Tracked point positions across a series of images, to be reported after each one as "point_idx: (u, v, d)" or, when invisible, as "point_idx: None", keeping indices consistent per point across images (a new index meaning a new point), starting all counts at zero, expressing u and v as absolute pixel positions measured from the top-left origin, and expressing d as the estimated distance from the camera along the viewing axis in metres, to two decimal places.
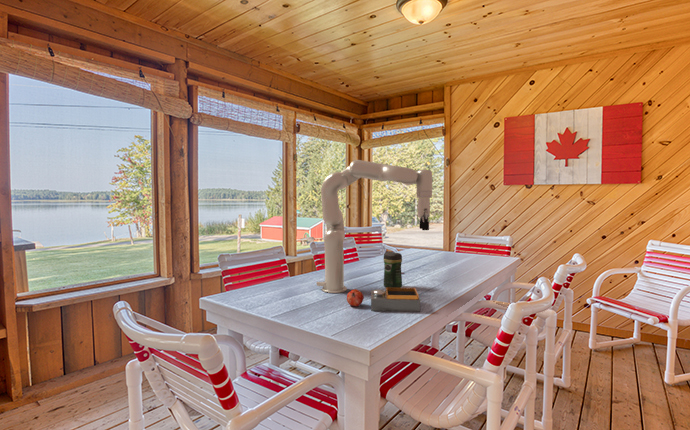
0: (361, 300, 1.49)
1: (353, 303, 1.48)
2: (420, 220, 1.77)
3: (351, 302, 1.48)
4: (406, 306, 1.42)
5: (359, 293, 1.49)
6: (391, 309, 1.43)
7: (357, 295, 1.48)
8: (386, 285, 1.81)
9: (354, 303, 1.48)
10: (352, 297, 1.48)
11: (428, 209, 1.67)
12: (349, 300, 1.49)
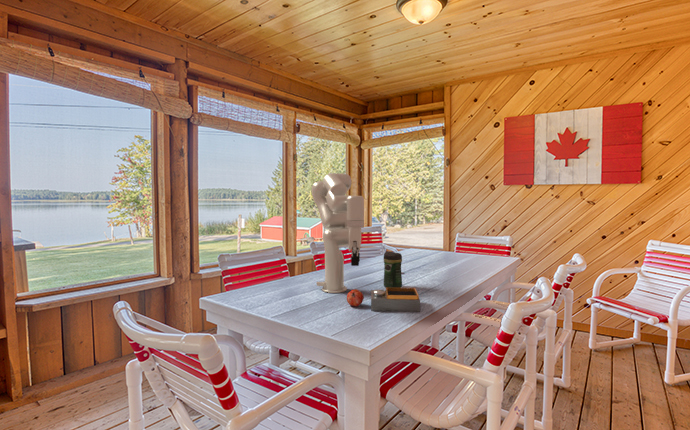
0: (361, 300, 1.49)
1: (353, 303, 1.48)
2: None
3: (351, 302, 1.48)
4: (406, 306, 1.42)
5: (359, 293, 1.49)
6: (391, 309, 1.43)
7: (357, 295, 1.48)
8: (386, 285, 1.81)
9: (354, 303, 1.48)
10: (352, 297, 1.48)
11: (358, 241, 1.45)
12: (349, 300, 1.49)
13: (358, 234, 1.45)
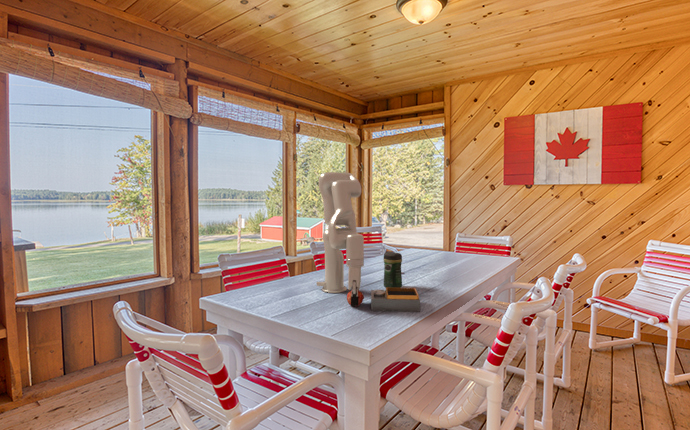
0: (361, 300, 1.49)
1: None
2: None
3: None
4: (406, 306, 1.42)
5: (359, 293, 1.49)
6: (391, 309, 1.43)
7: None
8: (386, 285, 1.81)
9: None
10: None
11: (357, 281, 1.46)
12: (349, 300, 1.49)
13: (358, 273, 1.46)
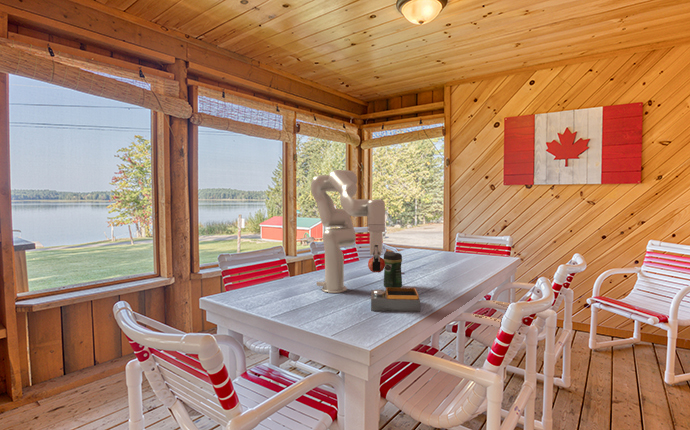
0: (383, 266, 1.47)
1: None
2: None
3: None
4: (406, 306, 1.42)
5: (381, 259, 1.48)
6: (391, 309, 1.43)
7: None
8: (386, 285, 1.81)
9: None
10: None
11: (379, 246, 1.44)
12: (370, 266, 1.47)
13: (379, 238, 1.44)
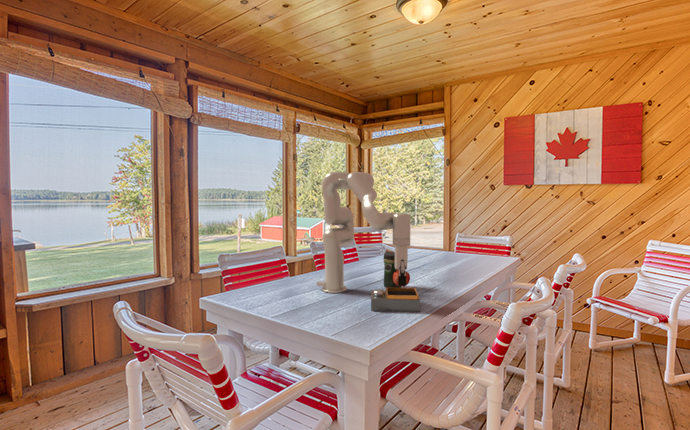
0: (408, 280, 1.47)
1: None
2: None
3: None
4: (406, 306, 1.42)
5: (406, 273, 1.47)
6: (391, 309, 1.43)
7: None
8: (386, 285, 1.81)
9: None
10: None
11: (405, 260, 1.44)
12: (396, 280, 1.47)
13: (405, 253, 1.44)
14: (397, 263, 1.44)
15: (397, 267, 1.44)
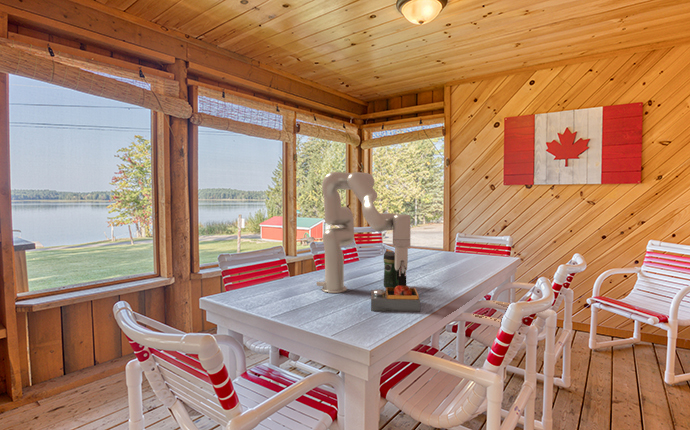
0: None
1: None
2: (398, 270, 1.54)
3: None
4: (406, 306, 1.42)
5: (408, 292, 1.44)
6: (391, 309, 1.43)
7: (406, 294, 1.44)
8: (386, 285, 1.81)
9: None
10: None
11: (405, 261, 1.44)
12: None
13: (406, 254, 1.44)
14: (397, 264, 1.44)
15: (397, 268, 1.44)
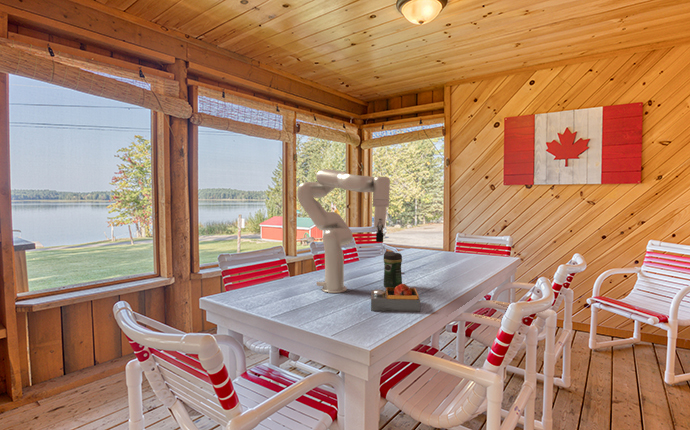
0: None
1: None
2: None
3: None
4: (406, 306, 1.42)
5: (408, 292, 1.44)
6: (391, 309, 1.43)
7: (406, 294, 1.44)
8: (386, 285, 1.81)
9: None
10: None
11: (383, 219, 1.55)
12: None
13: (383, 212, 1.55)
14: (375, 222, 1.55)
15: (375, 225, 1.56)
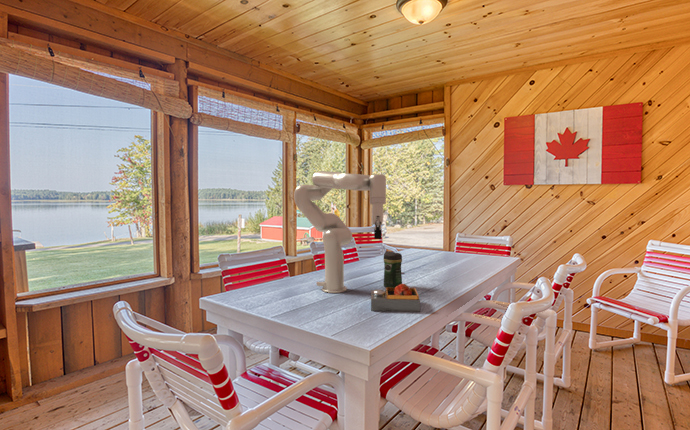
0: None
1: None
2: (375, 228, 1.67)
3: None
4: (406, 306, 1.42)
5: (408, 292, 1.44)
6: (391, 309, 1.43)
7: (406, 294, 1.44)
8: (386, 285, 1.81)
9: None
10: None
11: (380, 216, 1.57)
12: None
13: (381, 209, 1.57)
14: (373, 219, 1.57)
15: (373, 223, 1.57)
